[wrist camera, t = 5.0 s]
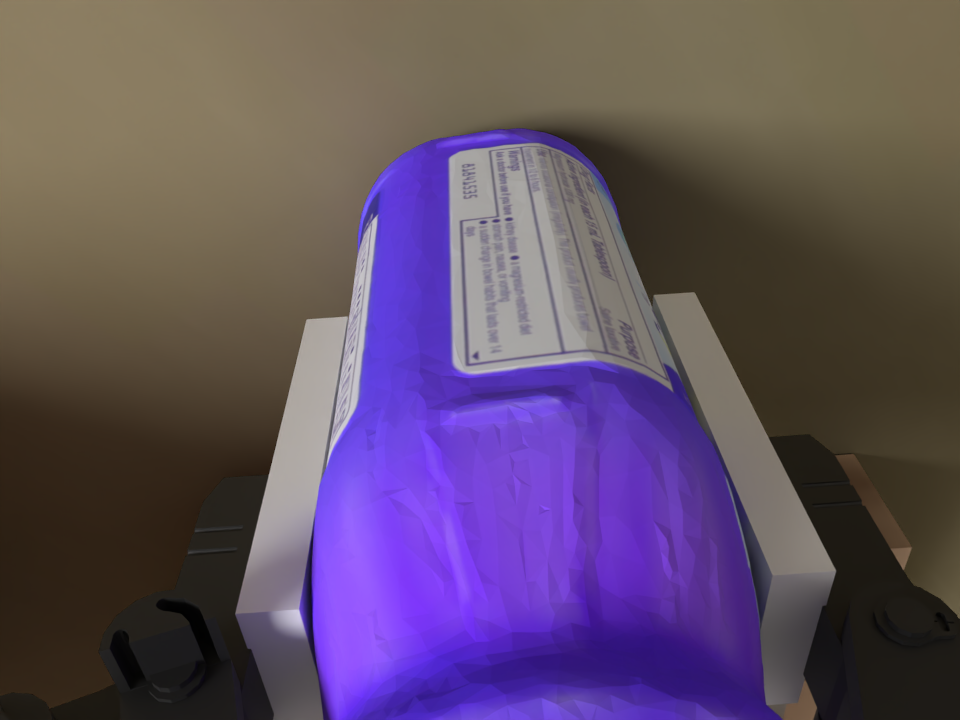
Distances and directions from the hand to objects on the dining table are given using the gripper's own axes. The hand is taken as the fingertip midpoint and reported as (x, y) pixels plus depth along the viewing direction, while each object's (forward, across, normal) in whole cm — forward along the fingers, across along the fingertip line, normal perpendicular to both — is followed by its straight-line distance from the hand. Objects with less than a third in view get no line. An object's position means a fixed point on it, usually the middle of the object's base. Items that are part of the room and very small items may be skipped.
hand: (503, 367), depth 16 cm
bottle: (+5, 0, 0) cm, 5 cm away
